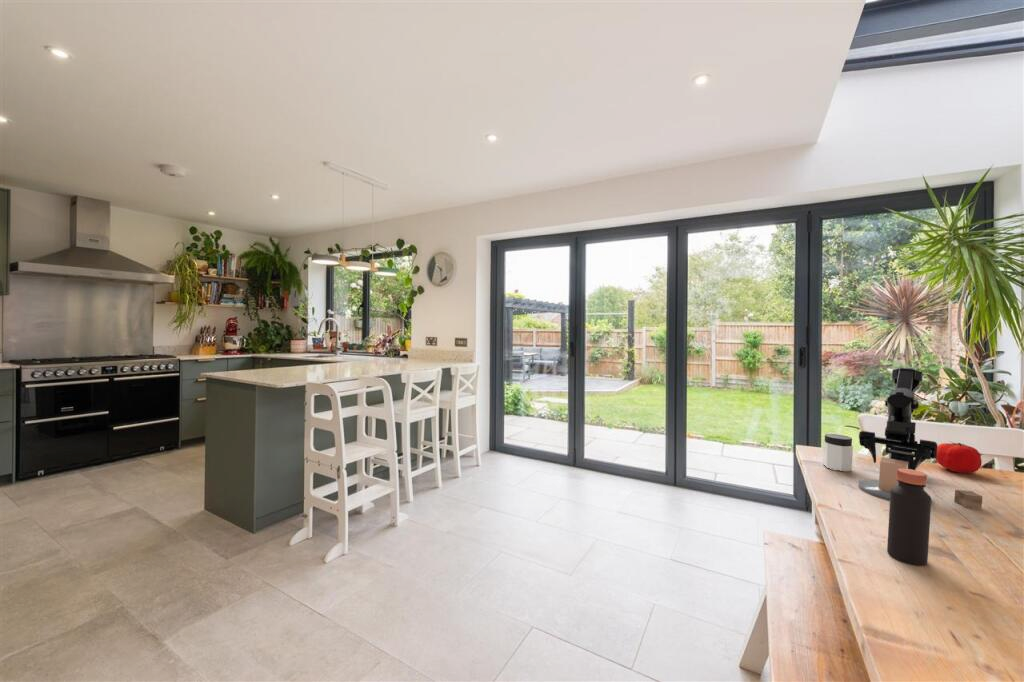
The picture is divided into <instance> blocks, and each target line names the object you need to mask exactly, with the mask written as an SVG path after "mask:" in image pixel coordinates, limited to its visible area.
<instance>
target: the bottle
mask: <svg viewBox="0 0 1024 682" xmlns="http://www.w3.org/2000/svg"><path fill="white" fill-rule="evenodd" d="M927 478H928V475H927V473H926V472H922V471H921V470H917V469H916V470H912V469H904V468H900V469H897V481H898V485H897V486H895V487H893V488H892V489H891V491H890V500H889V510H888V511H889V513H888V530H887V544H886V545H887V548H886V549H887V550H886V551H887V553H888V555H889V556H890V557H892V558H893V559H895V560H897V561H900V562H902V563H905V564H908V565H913V566H925V565H927V564H928V557H929V542H930V527H931V512H932V508H931V507H932V497H931V496H930V495H929V493H928V492H927V491H926V490H925V487H926V486H927Z"/></svg>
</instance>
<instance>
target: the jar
mask: <svg viewBox="0 0 1024 682" xmlns="http://www.w3.org/2000/svg"><path fill="white" fill-rule="evenodd" d="M822 444H823V445H822V461H821V462H822V463H823V464H824V465H825V466H826V467H827V468H831V469H830V470H832V469H835V470H834V471H836V470H840V471H844V472H851V471H850V470H852V471H853V451H854V446H853V445H852V444H853V437H850V436H848V435H843V434H838V433H826V434H824V440H823V443H822ZM824 465H823V466H824ZM825 466H824V467H825ZM826 467H825V468H826ZM827 468H826V469H827ZM840 471H839V472H840Z"/></svg>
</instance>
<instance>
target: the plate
mask: <svg viewBox="0 0 1024 682" xmlns="http://www.w3.org/2000/svg"><path fill="white" fill-rule="evenodd" d="M857 487H858V488H859V489H860V490H861V491H862V490H863V492H864V491H865V492H864V493H866V492H867V493H866V494H868V493H869V495H870V496H874V497H877V498H880V499H884V500H887V501H890V491H886V490H881V489H879V479H868V478H867V479H861V480H859V481H858V485H857Z"/></svg>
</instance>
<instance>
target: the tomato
mask: <svg viewBox="0 0 1024 682" xmlns="http://www.w3.org/2000/svg"><path fill="white" fill-rule="evenodd" d="M934 460H935V461H936V462H937V463H938V464H939V465H940V466H941V467H943V468H945V469H947V470H949V471H952V472H956V473H961V474H972V473H976V472H977V471H978V470H980V468H981V467H982V462H983V461H982V457H981V453H980V452H979V451H978V450H977V449H976V448H975V447H972V446H970V445H966V444H964V443H960V442H957V443H956V442H953V441H951V443H948V442H947V443H946V442H942V443H940V444H937V458H934Z"/></svg>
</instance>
